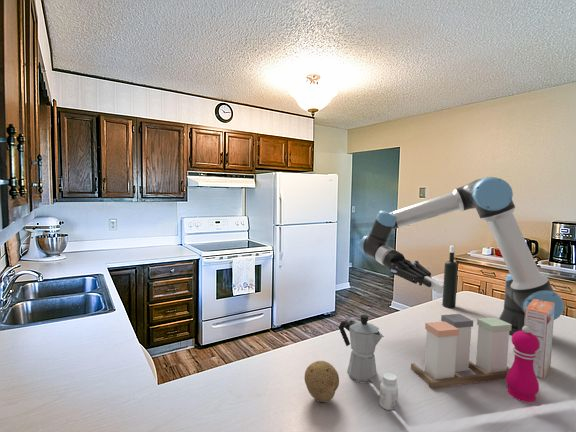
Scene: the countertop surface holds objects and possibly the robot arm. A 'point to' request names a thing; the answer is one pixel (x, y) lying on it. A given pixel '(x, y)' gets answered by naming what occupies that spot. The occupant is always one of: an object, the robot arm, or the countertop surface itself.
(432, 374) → the orange lidded canister
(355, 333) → the coffee maker
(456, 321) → the gray lidded canister
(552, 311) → the cracker box
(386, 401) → the pill bottle
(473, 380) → the wooden stand
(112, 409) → the countertop surface
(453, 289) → the wine bottle
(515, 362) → the pepper mill
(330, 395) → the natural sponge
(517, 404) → the countertop surface
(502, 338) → the green lidded canister
